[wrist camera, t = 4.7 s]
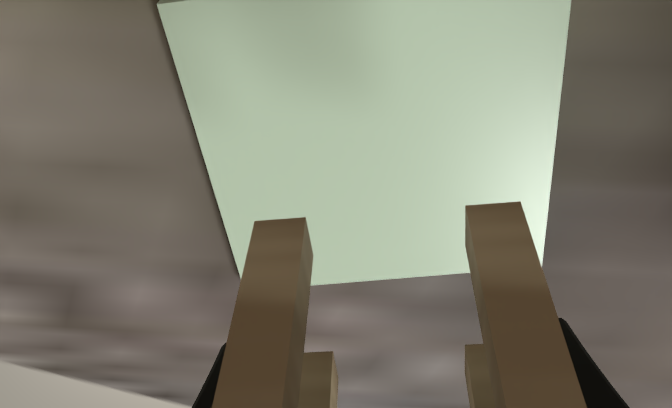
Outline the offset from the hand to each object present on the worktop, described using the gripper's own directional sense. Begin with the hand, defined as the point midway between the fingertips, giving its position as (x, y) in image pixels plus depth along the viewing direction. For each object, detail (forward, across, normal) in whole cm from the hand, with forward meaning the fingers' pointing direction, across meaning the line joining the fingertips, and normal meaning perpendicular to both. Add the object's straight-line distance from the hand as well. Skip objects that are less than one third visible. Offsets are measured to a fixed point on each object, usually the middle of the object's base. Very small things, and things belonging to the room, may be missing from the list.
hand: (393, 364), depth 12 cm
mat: (+8, 0, 0) cm, 8 cm away
